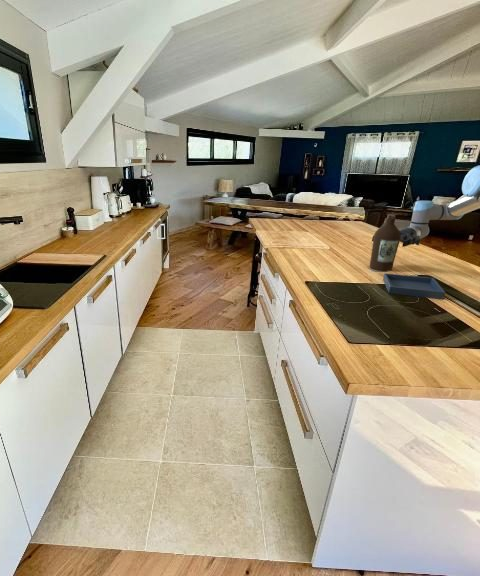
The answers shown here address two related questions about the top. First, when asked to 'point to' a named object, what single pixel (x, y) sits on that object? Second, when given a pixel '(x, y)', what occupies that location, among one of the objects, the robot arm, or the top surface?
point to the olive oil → (385, 245)
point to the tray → (413, 286)
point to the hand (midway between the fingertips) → (387, 241)
